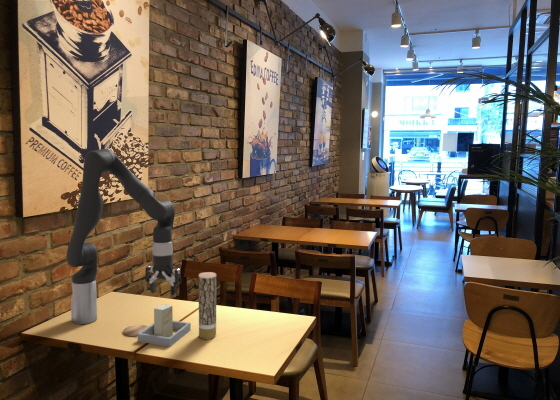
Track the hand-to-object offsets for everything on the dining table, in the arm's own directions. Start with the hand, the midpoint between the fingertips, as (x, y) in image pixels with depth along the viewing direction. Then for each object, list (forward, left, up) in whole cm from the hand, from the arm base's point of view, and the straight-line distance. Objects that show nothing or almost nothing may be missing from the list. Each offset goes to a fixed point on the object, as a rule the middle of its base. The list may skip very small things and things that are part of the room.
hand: (163, 293), depth 172 cm
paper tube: (+16, +6, -18) cm, 25 cm away
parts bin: (0, +1, -17) cm, 17 cm away
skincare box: (0, 0, -18) cm, 18 cm away
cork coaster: (-13, +1, -17) cm, 22 cm away
